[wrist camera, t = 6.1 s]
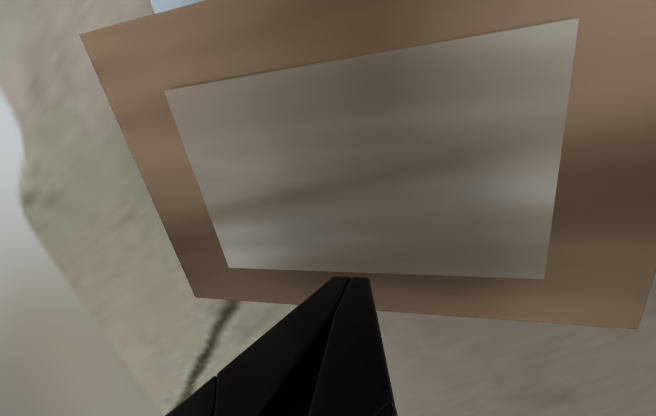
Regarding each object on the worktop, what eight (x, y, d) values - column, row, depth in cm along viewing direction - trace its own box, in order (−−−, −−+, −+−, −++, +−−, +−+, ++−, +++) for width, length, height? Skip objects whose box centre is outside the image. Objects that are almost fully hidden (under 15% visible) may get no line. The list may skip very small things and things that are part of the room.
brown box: (643, 338, 7) (808, -168, 4) (190, 302, 11) (69, 34, 8) (575, 234, 11) (628, -76, 7) (251, 234, 15) (186, 31, 11)
